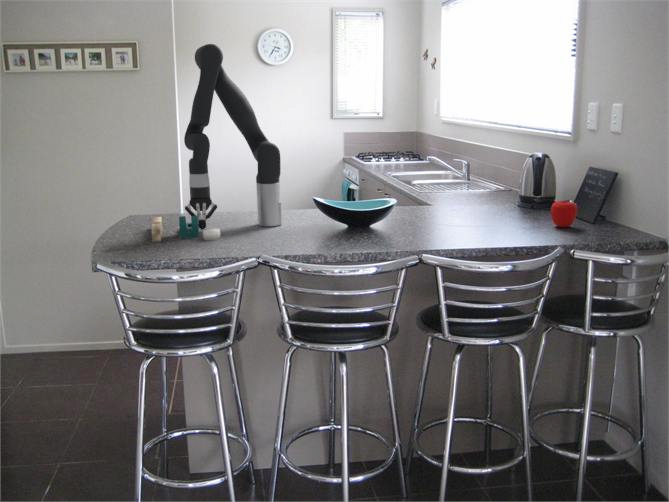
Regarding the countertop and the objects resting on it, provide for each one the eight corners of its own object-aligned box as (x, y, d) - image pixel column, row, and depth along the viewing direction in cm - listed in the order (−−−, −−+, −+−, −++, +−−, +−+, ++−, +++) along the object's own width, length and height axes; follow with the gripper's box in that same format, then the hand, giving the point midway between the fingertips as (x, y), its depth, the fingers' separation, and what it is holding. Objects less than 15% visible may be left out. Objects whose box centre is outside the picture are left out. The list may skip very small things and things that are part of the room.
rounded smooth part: (220, 236, 253) (219, 227, 252) (221, 240, 246) (220, 230, 246) (202, 237, 251) (202, 228, 250) (203, 241, 245) (202, 231, 244)
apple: (545, 227, 259) (547, 199, 256) (556, 223, 266) (558, 196, 263) (569, 230, 253) (571, 202, 250) (580, 226, 259) (582, 199, 257)
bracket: (198, 237, 251) (197, 217, 249) (180, 239, 249) (178, 218, 247) (198, 227, 268) (197, 208, 266) (181, 228, 266) (180, 209, 265)
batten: (162, 227, 268) (161, 216, 266) (160, 241, 245) (159, 229, 244) (154, 228, 267) (153, 216, 266) (152, 241, 244) (151, 229, 243)
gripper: (216, 182, 260) (219, 226, 264) (181, 184, 257) (184, 228, 261) (217, 185, 253) (220, 230, 257) (182, 187, 250) (185, 232, 254)
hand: (202, 229), depth 259 cm, fingers closed
